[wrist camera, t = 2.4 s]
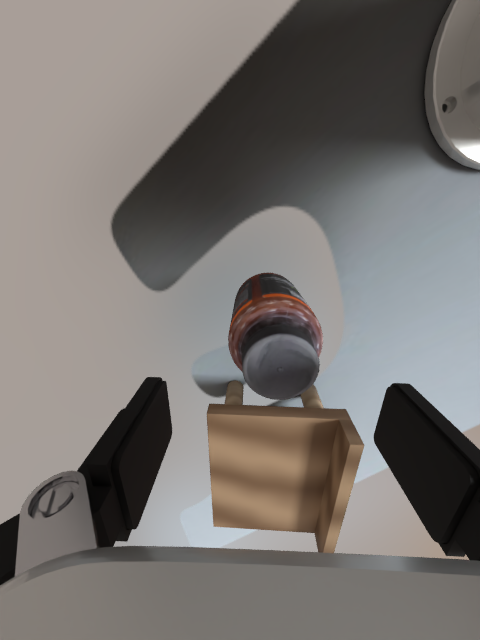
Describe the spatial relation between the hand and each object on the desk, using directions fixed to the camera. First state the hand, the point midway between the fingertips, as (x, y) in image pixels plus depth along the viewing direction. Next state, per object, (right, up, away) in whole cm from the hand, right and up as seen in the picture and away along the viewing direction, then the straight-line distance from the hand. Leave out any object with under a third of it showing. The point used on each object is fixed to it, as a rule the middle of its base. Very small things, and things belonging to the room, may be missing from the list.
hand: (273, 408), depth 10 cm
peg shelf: (+2, -9, +18) cm, 21 cm away
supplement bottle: (+1, +5, +13) cm, 14 cm away
